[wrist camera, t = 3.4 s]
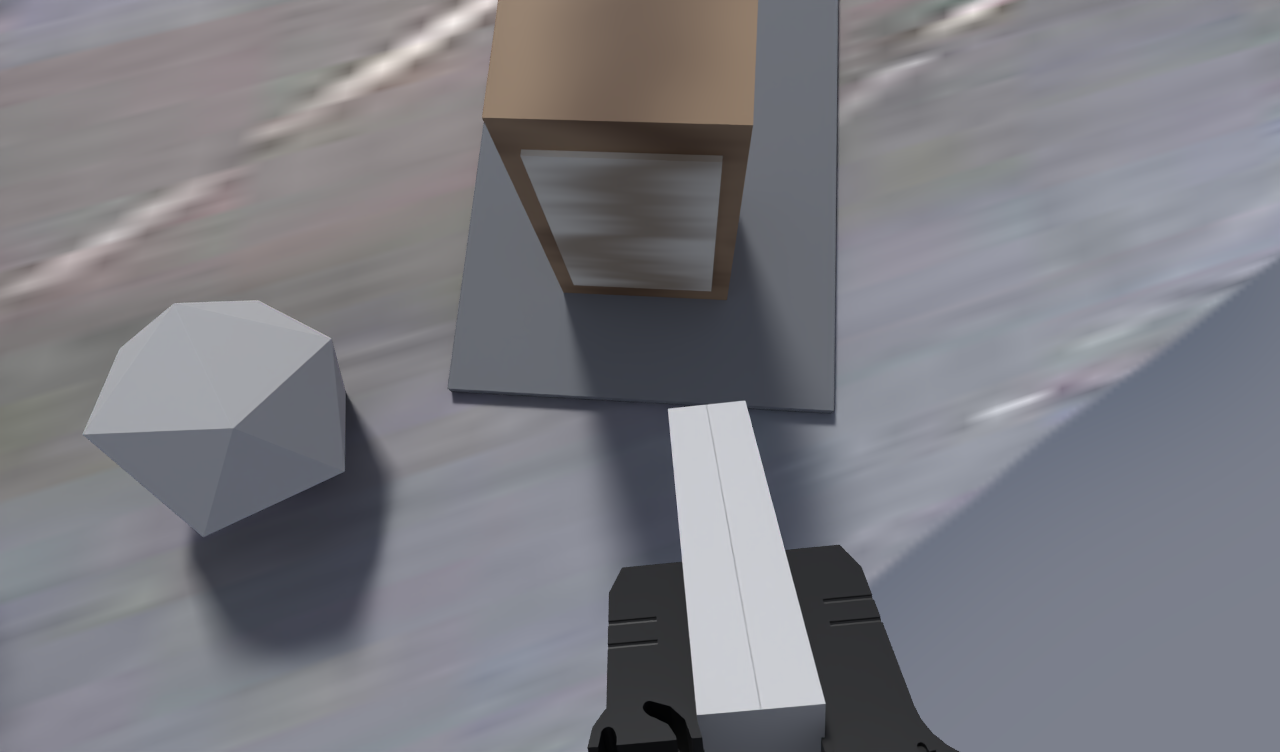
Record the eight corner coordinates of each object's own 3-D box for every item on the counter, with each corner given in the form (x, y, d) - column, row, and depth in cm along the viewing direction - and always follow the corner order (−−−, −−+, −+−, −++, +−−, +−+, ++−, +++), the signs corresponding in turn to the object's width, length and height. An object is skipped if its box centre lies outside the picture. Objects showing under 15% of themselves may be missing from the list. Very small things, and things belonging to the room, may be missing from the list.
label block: (562, 296, 32) (481, 124, 19) (574, 187, 33) (504, -43, 20) (726, 304, 31) (752, 132, 19) (731, 192, 32) (759, -41, 20)
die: (280, 300, 34) (17, 311, 26) (401, 292, 29) (122, 304, 21) (299, 474, 35) (51, 536, 27) (419, 495, 30) (158, 579, 22)
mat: (451, 391, 32) (447, 388, 31) (513, -73, 37) (511, -82, 37) (831, 413, 30) (834, 410, 30) (836, -71, 36) (838, -79, 36)
